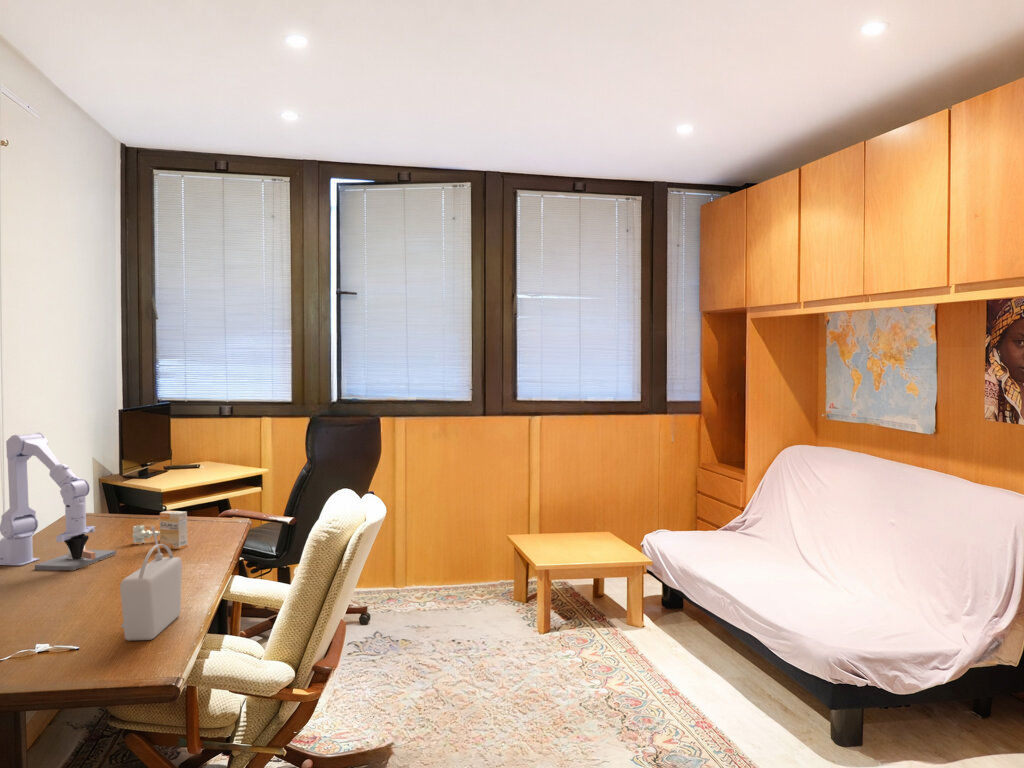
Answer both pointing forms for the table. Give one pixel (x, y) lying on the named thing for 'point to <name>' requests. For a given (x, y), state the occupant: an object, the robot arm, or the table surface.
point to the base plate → (72, 561)
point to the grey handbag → (151, 595)
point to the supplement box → (173, 529)
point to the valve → (142, 534)
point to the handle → (85, 554)
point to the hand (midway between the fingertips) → (76, 558)
